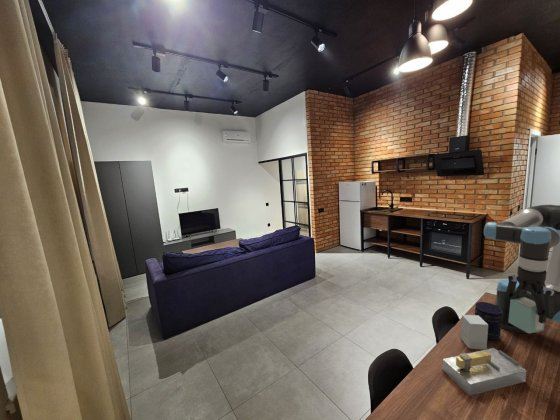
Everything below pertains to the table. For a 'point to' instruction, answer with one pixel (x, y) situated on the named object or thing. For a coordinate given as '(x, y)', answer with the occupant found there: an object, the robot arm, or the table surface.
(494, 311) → the storage jar
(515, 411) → the table surface
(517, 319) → the mint green box
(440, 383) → the table surface
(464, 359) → the hammer with yellow handle
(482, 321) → the supplement box
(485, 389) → the white base platform
